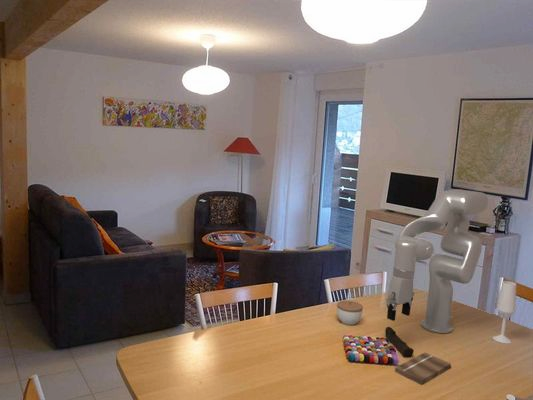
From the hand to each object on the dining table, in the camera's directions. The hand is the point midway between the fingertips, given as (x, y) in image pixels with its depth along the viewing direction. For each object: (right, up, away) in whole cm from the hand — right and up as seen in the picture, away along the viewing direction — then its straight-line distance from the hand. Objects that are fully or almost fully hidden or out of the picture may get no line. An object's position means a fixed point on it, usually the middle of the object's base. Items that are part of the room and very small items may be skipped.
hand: (398, 317), depth 172 cm
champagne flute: (+46, -13, +13) cm, 49 cm away
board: (+4, -14, -15) cm, 21 cm away
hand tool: (-1, -12, +2) cm, 12 cm away
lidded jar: (-15, -8, +22) cm, 28 cm away
